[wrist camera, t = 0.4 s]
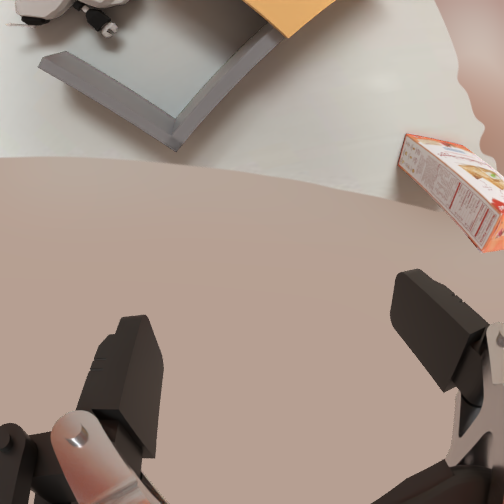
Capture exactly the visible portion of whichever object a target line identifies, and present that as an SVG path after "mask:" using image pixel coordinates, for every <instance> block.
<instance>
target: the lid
mask: <svg viewBox="0 0 504 504" xmlns="http://www.w3.org/2000/svg"><path fill="white" fill-rule="evenodd" d="M242 1H243V2H245V3H246V4H247V5H248V6H250V7H251V8H252V9H253V10H255V11H256V12H257V13H258V14H259V15H261V16H262V17H263V18H264V19H265V20H266V21H268V22H269V23H270V24H271V25H272V26H273V27H274V28H276V29H277V30H278V31H279V32H280V33H281V34H282V35H283V36H284V37H285V38H290V37H291V36H292V35H293V34H294V33H295V32H297V31H298V30H299V29H300V28H301V27H302V26H304V25H305V24H306V23H307V22H308V21H310V20H311V19H312V18H313V17H315V16H316V15H317V14H318V13H320V12H321V11H322V10H323V9H325V8H326V7H327V6H329V5H330V4H331V3H333V2H334V1H335V0H242Z"/></svg>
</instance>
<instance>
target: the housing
mask: <svg viewBox="0 0 504 504" xmlns="http://www.w3.org/2000/svg"><path fill="white" fill-rule="evenodd" d="M284 38H285V37H284V36H283V35H282V34H281V33H280V32H279V31H278V30H277V29H276V28H274V27H273V26H272V25H271V24H270V23H269V22H268V23H267V24H266V25H265V26H264V27H262V28H261V29H260V30H259V31H258V32H257V33H256V34H255V35H254V36H253V37H252V38H250V39H249V40H248V41H247V42H246V43H245V44H244V45H243V46H242V47H241V48H240V49H239V50H238V51H237V52H236V53H235V54H234V55H233V56H232V57H231V58H230V59H229V60H228V61H227V62H226V63H225V64H224V65H223V66H222V67H221V68H220V69H219V70H218V71H217V72H216V73H215V75H214V76H213V77H212V78H211V79H210V80H209V81H208V82H207V83H206V84H205V85H204V87H203V88H202V89H201V90H200V91H199V92H198V93H197V94H196V96H195V97H194V98H193V99H192V100H191V101H190V103H189V104H188V105H187V106H186V107H185V108H184V110H183V111H182V112H181V113H180V114H179V116H178V117H177V118H176V119H175V118H173V117H172V116H170V115H169V114H167V113H166V112H164V111H163V110H161V109H160V108H158V107H157V106H155V105H154V104H152V103H151V102H149V101H148V100H146V99H144V98H143V97H141V96H140V95H138V94H137V93H135V92H134V91H132V90H130V89H129V88H127V87H126V86H124V85H123V84H121V83H119V82H118V81H116V80H114V79H113V78H111V77H110V76H108V75H106V74H105V73H103V72H101V71H100V70H98V69H96V68H95V67H93V66H91V65H90V64H88V63H86V62H84V61H83V60H81V59H79V58H78V57H76V56H74V55H72V54H70V53H69V52H67V51H64V52H60V53H56V54H52V55H49V56H45V57H43V58H42V60H41V62H40V64H39V66H38V68H40V69H42V70H43V71H45V72H47V73H49V74H50V75H52V76H54V77H56V78H57V79H59V80H61V81H63V82H64V83H66V84H68V85H69V86H71V87H73V88H75V89H76V90H78V91H80V92H81V93H83V94H85V95H86V96H88V97H90V98H91V99H93V100H95V101H96V102H98V103H99V104H101V105H103V106H104V107H106V108H108V109H109V110H111V111H112V112H114V113H116V114H117V115H119V116H121V117H122V118H124V119H125V120H127V121H128V122H130V123H132V124H133V125H135V126H136V127H138V128H140V129H141V130H143V131H144V132H146V133H147V134H149V135H150V136H152V137H154V138H155V139H157V140H158V141H160V142H161V143H163V144H164V145H166V146H167V147H169V148H170V149H172V150H173V151H175V152H177V151H178V149H179V148H180V147H181V146H182V144H183V143H184V142H185V141H186V140H187V138H188V137H189V136H190V135H191V134H192V132H193V131H194V130H195V129H196V128H197V127H198V125H199V124H200V123H201V122H202V121H203V120H204V119H205V117H206V116H207V115H208V114H209V113H210V112H211V111H212V110H213V109H214V107H215V106H216V105H217V104H218V103H219V102H220V101H221V100H222V99H223V98H224V97H225V96H226V95H227V93H228V92H229V91H230V90H231V89H232V88H233V87H234V86H235V85H236V84H237V83H238V82H239V81H240V80H241V79H242V78H243V77H244V76H245V75H246V74H247V73H248V72H249V71H250V70H251V69H252V68H253V67H254V66H255V65H256V64H257V63H258V62H259V61H260V60H261V59H262V58H263V57H265V56H266V55H267V54H268V53H269V52H270V51H271V50H272V49H273V48H274V47H275V46H276V45H278V44H279V43H280V42H281V41H282V40H283V39H284Z"/></svg>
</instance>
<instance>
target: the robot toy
mask: <svg viewBox="0 0 504 504" xmlns="http://www.w3.org/2000/svg"><path fill="white" fill-rule="evenodd" d="M128 1H129V0H77V1H76V0H16V1H15V8H16V13H17V14H19V15H20V16H21V17H22V19H21V20H22V21H23V22H25V23H26V24H28V25H24V24H12V23H8V24H5V25H7V26H26V27H30V28H35V27H36V26H37V25H42V24H46V23H49V21H50V20H51V19H54V18H57V17H60V16H61V15H62V14H64V13H65V12H66V11H67V10H68V9H69V8H70V7H71V6H73V7H74V8H75V9H77V10H78V11H80V10H83V11H84V12H85V13H86V18H87V21H88V23H89V24H90V25H91V26H92V27H93V28H95V29H96V30H97V31H100V30H101V33H102V36H104V37H106V38H109V37H111V36H112V34H111V33H110V32H109V31H108V30H110V29H111V30H112V31H113V32H114V33H116V32H117V29H118V27H117V25H116V24H115V23H111V22H110V21H111V19H110V18H109V17H108V16H107V15H106V14H105V13H104V12H102V11H101V10H97V9H91V8H90V7H89V6H88V5H91V6H94V7H97V8H110V7H112V6H115V5H124V4H126V3H127V2H128ZM74 2H75V3H74ZM73 3H74V4H73ZM72 4H73V5H72Z"/></svg>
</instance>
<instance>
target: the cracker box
mask: <svg viewBox="0 0 504 504" xmlns="http://www.w3.org/2000/svg"><path fill="white" fill-rule="evenodd" d="M398 166H399V167H400V168H401V169H402V170H403V171H405V172H406V173H407V174H408V175H409V176H410V177H411V178H412V179H413V180H414V181H415V182H416V183H417V184H418V185H420V186H421V187H422V188H423V189H424V190H425V191H426V192H427V193H428V194H429V195H430V196H431V197H432V198H433V199H434V200H435V201H436V202H437V204H438V205H439V206H440V207H441V208H442V209H443V210H444V211H445V212H446V213H447V214H448V215H449V216H450V217H451V218H452V219H453V221H454V222H455V223H456V224H457V225H458V226H459V227H460V229H461V230H462V231H463V232H464V233H465V234H466V235H467V237H468V238H469V239H470V240H471V241H472V243H473V244H474V245H475V246H476V248H477V249H478V250H479V251H480V252H481V253H485V252H493V251H500V250H504V177H503V176H502V175H501V174H500V173H498V172H497V171H496V170H495V169H493V168H492V167H491V166H490V165H488V164H487V163H486V162H484V161H483V160H482V159H481V158H479V157H478V156H477V155H475V154H474V153H473V152H471V151H470V150H468V149H467V148H466V147H464V146H463V145H459V144H455V143H450V142H446V141H441V140H437V139H432V138H427V137H422V136H416V135H411V134H406V136H405V140H404V144H403V147H402V151H401V155H400V158H399V162H398Z"/></svg>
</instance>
